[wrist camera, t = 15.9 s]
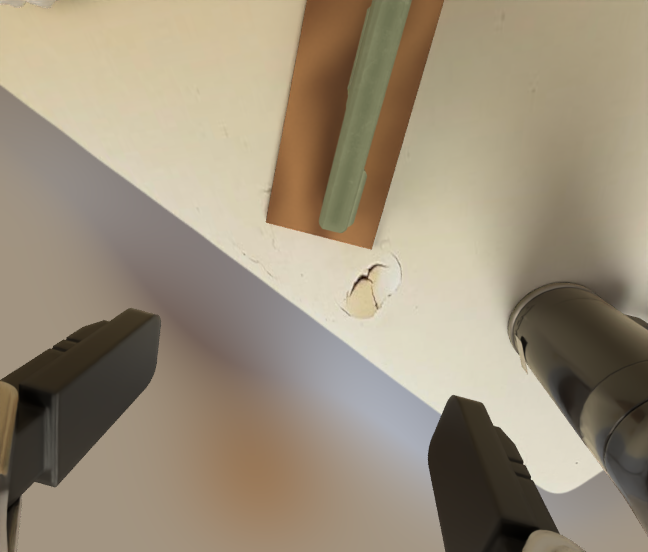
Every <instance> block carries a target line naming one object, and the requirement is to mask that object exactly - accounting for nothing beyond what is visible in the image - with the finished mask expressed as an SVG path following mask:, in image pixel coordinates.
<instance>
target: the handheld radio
mask: <svg viewBox="0 0 648 552" xmlns="http://www.w3.org/2000/svg"><path fill="white" fill-rule="evenodd" d="M411 2H412V0H372V3H371V7H369V8H368V9H367V13H366V17H365V21H364V25H363V29H362V33H361V37H360V41H359V45H358V49H357V53H356V57H355V61H354V65H353V69H352V73H351V77H350V81H349V85H348V87H347V89H348V98H347V102H346V111H345V115H344V120H343V124H342V128H341V132H340V136H339V140H338V144H337V148H336V152H335V156H334V159H333V163H332V168H331V172H330V175H329V180H328V184H327V187H326V192H325V196H324V199H323V205H322V209H321V213H320V217H319V225H320V226H321V228H322V229H325V230H329V231H333V232H337V233H343V232H344V231H346V230H347V227H350V226H351V225H352V224H353V223H354V220H355V217H356V213H357V210H358V206H359V203H360V199H361V196H362V192H363V189H364V185H365V182H366V178H367V174H366V171H365V169H364V168H365V164H366V160H367V157H368V153H369V150H370V146H371V143H372V139H373V136H374V132H375V129H376V125H377V122H378V118H379V115H380V111H381V107H382V104H383V100H384V97H385V93H386V90H387V86H388V83H389V79H390V76H391V72H392V69H393V65H394V62H395V58H396V55H397V51H398V47H399V44H400V40H401V37H402V33H403V30H404V26H405V23H406V19H407V16H408V12H409V9H410V5H411Z"/></svg>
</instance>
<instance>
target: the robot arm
mask: <svg viewBox="0 0 648 552" xmlns="http://www.w3.org/2000/svg"><path fill="white" fill-rule="evenodd" d="M160 327H161V320H160V317H159V315H155V314H152V313H148V312H145V311H141V310H137V309H133V308H129V309H127V310H126V311H124V312H123V313H121V314H120V315H118V316H117V317H115V318H114V319H113V320H111V321H105V320H104V321H100V322H97V323H94V324H91V325H88V326H85V327H82V328H81V329H79V330H78V331H76V332H74V333H73V334H71V335H70V336H68V337H67V339H66V340H62V341H61V342H59V343H57V344H56V345H54V346H53V348H52V349H48V350H47V351H45V352H43V353H42V354H40V355H39V356H37V357H35V358H34V359H32V360H31V361H29V362H28V363H26V364H25V365H23V366H22V367H20V368H19V369H17V370H15V371H14V372H12V373H11V374H9V375H7V376H6V377H4V378H3V379H1V380H0V552H17V546H18V535H19V527H20V517H21V508H22V494H23V493H24V492H25V491H26V490H27V489H28V488H29V487H30V486H31V485H32V484H33V483H34V482H38V483H42V484H45V485H49V486H53V487H57V485H58V484H59V483H60V482H61V481H62V480H63V479H64V478H65V477H66V476H67V474H68V473H69V472H70V471H71V470H72V469H73V467H75V466H76V464H77V463H78V462H79V461H80V460H81V459H82V458H83V457H84V456H85V455H86V453H87V452H88V451H89V450H90V449H91V448H92V446H93V445H94V444H96V442H97V441H98V440H99V439H100V438H101V437H102V436H103V435H104V434H105V432H106V431H107V430H108V429H109V428H110V427H111V426H112V425H113V424H114V423H115V421H116V420H117V419H118V418H119V417H120V416H121V415H122V414H123V413H124V412H125V410H126V409H127V408H128V407H129V406H130V405H131V404H132V403H133V402H134V401H135V399H136V398H137V397H138V396H139V395H140V394H141V393H142V392H143V391H144V389H145V388H146V387H147V386H148V384H149V383H150V381H151V379H152V377H153V375H154V372H155V368H156V364H157V354H158V345H159V336H160ZM508 334H509V339H510V342H511V344H512V346H513V347H514V349H515V350H516V352H517V353H518V354H519V355H520V360H521V365H522V367H523V369H524V370H525V371H526V373H527V374H528V372H527V368H526V363H527V365H528V366H529V368H530V369H531V371H532V372H533V373H534V375H535V376H536V378H537V379H538V380H539V382H540V383H541V384H542V386H543V387H544V389H545V390H546V391H547V393H548V394H549V395H550V397H551V398H552V400H553V401H554V402H555V404H556V405H557V406H558V408H559V409H560V411H561V412H562V413H563V415H564V416H565V417H566V419H567V420H568V422H569V423H570V424H571V426H572V427H573V428H574V430H575V431H576V433H577V434H578V435H579V437H580V438H581V439H582V441H583V442H584V444H585V445H586V446H587V447H588V449H589V450H590V451H591V453H592V454H593V456H594V457H595V458H596V460H597V461H598V462H599V464H600V465H601V467H602V468H603V469H604V471H605V472H606V473H607V475H608V476H609V478H610V479H611V480H612V481H613V483H614V484H615V486H616V487H617V488H618V490H619V491H620V493H621V494H622V495H623V497H624V498H625V500H626V501H627V503H628V504H629V506H630V508H631V509H632V511H633V513H634V514H635V516H636V518H637V519H638V521H639V523H640V524H641V526H642V528H643V529H644V531H645V532H646V534H647V536H648V323H646V322H645V321H643V320H642V319H640V318H637V317H633V316H629V315H625V314H623V313H621V312H620V311H618V310H617V309H615V308H614V307H613V306H611V305H610V304H608V303H607V302H605V301H604V300H602V299H601V298H600V297H599V296H598V295H597V294H595V293H594V292H592V291H591V290H589V289H587V288H586V287H583V286H581V285H578V284H573V283H553V284H549V285H545V286H542V287H540V288H538V289H536V290H534V291H532V292H531V293H529V294H528V295H526V296H525V297H524V298H523V299H522V300H521V301H520V302H519V303H518V304H517V306H516V307H515V309H514V310H513V312H512V314H511V317H510V320H509V325H508ZM525 362H526V363H525ZM428 465H429V471H430V475H431V481H432V486H433V491H434V496H435V501H436V506H437V511H438V516H439V521H440V526H441V531H442V536H443V541H444V547H445V552H586V551H585V550H583V549H582V548H581V547H580V546H578V545H577V544H576V543H574V542H573V541H571V540H570V539H568V538H566V537H564V536H563V535H560V534H559V532H558V529H557V527H556V525H555V524H554V521H553V519H552V517H551V516H550V513H549V512H548V510H547V508H546V506H545V504H544V502H543V500H542V498H541V496H540V494H539V492H538V490H537V488H536V486H535V484H534V482H533V480H531V476H530V474H529V472H528V470H527V468H526V466H525V465H523V460H522V458H521V456H520V454H519V452H518V450H517V448H516V446H515V444H514V443H513V442H512V441H511V440H510V438H509V437H508V436H507V435H506V434H505V433H504V432H503V431H502V430H501V428H500V427H496V426H493V424H492V422H491V419H490V417H489V415H488V413H487V411H486V408H485V406H484V405H483V403H481V402H478V401H474V400H470V399H466V398H463V397H459V396H455V395H452V396H451V397H450V398H449V399H448V401H447V403H446V406H445V408H444V411H443V413H442V415H441V418H440V420H439V422H438V425H437V427H436V430H435V432H434V434H433V436H432V439H431V442H430V446H429V452H428Z"/></svg>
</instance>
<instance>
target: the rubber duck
mask: <svg viewBox="0 0 648 552" xmlns="http://www.w3.org/2000/svg"><path fill="white" fill-rule="evenodd" d="M26 1H27V2H28V3H30V4H33V5H36V6H39V7H42V8H51V7H52V6H53V5H54V3H55V2H56V1H57V0H0V4H1V5H11V6H13V7H16V8H20V7H22V6H23V5H24V4H25V3H26Z"/></svg>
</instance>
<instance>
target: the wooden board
mask: <svg viewBox="0 0 648 552" xmlns="http://www.w3.org/2000/svg"><path fill="white" fill-rule="evenodd" d="M443 2H444V0H412V2H411V5H410V9H409V12H408V16H407V19H406V23H405V26H404V30H403V33H402V37H401V40H400V44H399V47H398V51H397V55H396V58H395V62H394V65H393V69H392V72H391V76H390V79H389V83H388V86H387V90H386V93H385V97H384V100H383V104H382V107H381V111H380V115H379V118H378V122H377V125H376V129H375V132H374V136H373V139H372V143H371V146H370V150H369V153H368V157H367V160H366V164H365V168H364V169H365V171H366V174H367V178H366V182H365V185H364V189H363V192H362V196H361V199H360V203H359V206H358V210H357V213H356V217H355V220H354V223H353V224H352V225H351V226H350V227H347V230H346V231H344V232H343V233H337V232H333V231H329V230H325V229H322V228H321V226H320V225H319V217H320V213H321V209H322V205H323V199H324V196H325V192H326V187H327V184H328V180H329V175H330V172H331V168H332V163H333V159H334V156H335V152H336V148H337V144H338V140H339V136H340V132H341V128H342V124H343V120H344V115H345V111H346V102H347V98H348V89H347V87H348V85H349V81H350V77H351V73H352V69H353V65H354V61H355V57H356V53H357V49H358V45H359V41H360V37H361V33H362V29H363V25H364V21H365V17H366V13H367V9H368V8H369V7H371V3H372V0H307V3H306V9H305V14H304V20H303V25H302V30H301V36H300V41H299V46H298V52H297V57H296V63H295V68H294V73H293V79H292V84H291V89H290V95H289V100H288V106H287V111H286V116H285V122H284V127H283V132H282V138H281V143H280V149H279V154H278V159H277V165H276V170H275V175H274V181H273V186H272V192H271V197H270V202H269V208H268V213H267V218H266V223H270V224H274V225H278V226H282V227H285V228H289V229H293V230H297V231H301V232H305V233H309V234H313V235H317V236H321V237H324V238H328V239H332V240H336V241H340V242H344V243H348V244H352V245H356V246H360V247H363V248H367V249H372V246H373V242H374V239H375V236H376V232H377V229H378V225H379V222H380V218H381V215H382V212H383V208H384V205H385V201H386V198H387V194H388V191H389V188H390V184H391V181H392V177H393V174H394V170H395V167H396V164H397V160H398V157H399V153H400V150H401V146H402V143H403V140H404V136H405V133H406V129H407V126H408V122H409V119H410V116H411V112H412V109H413V105H414V102H415V98H416V95H417V91H418V88H419V85H420V81H421V78H422V74H423V71H424V67H425V64H426V61H427V57H428V54H429V50H430V47H431V43H432V40H433V37H434V33H435V30H436V26H437V23H438V19H439V16H440V13H441V9H442V6H443Z"/></svg>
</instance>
